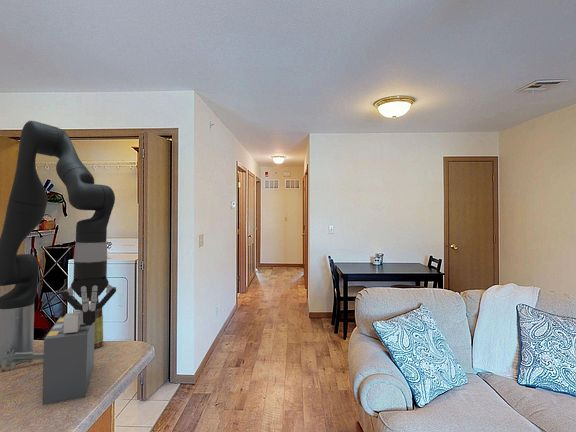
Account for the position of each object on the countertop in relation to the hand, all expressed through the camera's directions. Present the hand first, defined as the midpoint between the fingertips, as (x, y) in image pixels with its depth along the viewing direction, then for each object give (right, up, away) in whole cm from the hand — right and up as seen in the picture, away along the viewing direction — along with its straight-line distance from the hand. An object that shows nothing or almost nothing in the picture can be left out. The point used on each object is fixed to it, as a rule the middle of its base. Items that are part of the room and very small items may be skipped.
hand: (89, 324), depth 87 cm
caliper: (-23, -18, +15) cm, 33 cm away
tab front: (-3, -1, -2) cm, 4 cm away
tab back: (-7, -1, +10) cm, 12 cm away
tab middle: (-5, -1, +4) cm, 6 cm away
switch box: (-7, -17, +3) cm, 19 cm away
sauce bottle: (-16, -18, +29) cm, 37 cm away
